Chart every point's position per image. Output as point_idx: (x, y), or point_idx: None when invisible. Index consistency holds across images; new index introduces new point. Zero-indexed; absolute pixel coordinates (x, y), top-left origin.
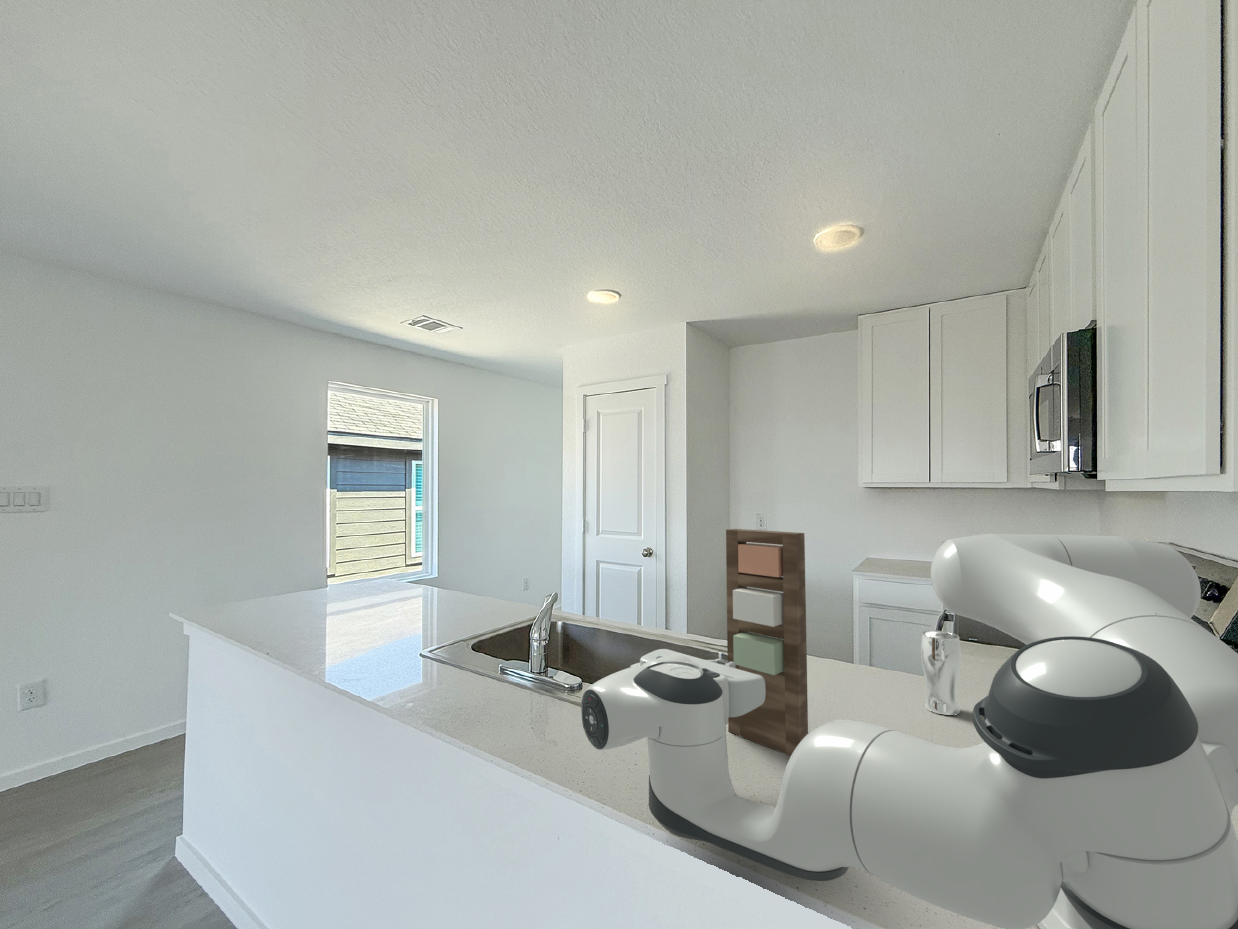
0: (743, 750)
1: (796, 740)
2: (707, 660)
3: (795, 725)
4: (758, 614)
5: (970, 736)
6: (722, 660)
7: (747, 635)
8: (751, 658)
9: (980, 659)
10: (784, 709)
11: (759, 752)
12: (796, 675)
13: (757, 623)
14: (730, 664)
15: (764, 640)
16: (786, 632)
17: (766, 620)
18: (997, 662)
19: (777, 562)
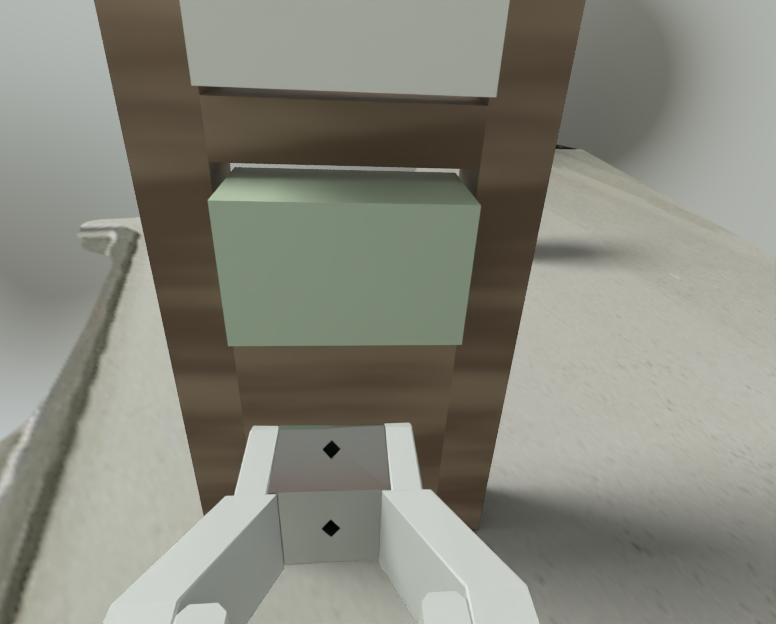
0: (319, 614)
1: (473, 492)
2: (180, 571)
3: (477, 458)
4: (395, 24)
5: (571, 285)
6: (308, 453)
7: (277, 184)
8: (337, 299)
9: (422, 168)
10: (441, 427)
11: (368, 583)
12: (514, 309)
13: (383, 92)
14: (419, 475)
15: (395, 192)
16: (499, 129)
17: (451, 60)
18: (440, 168)
19: None
